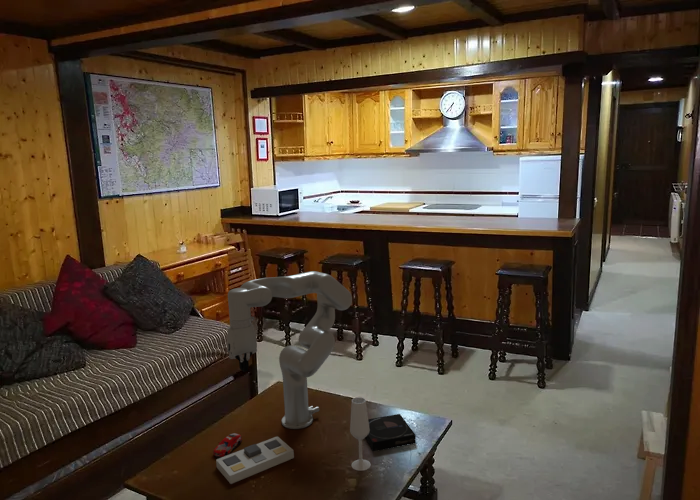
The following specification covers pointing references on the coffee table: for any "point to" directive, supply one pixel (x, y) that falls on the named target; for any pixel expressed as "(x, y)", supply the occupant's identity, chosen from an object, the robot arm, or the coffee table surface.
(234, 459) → the button
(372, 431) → the portable cd player
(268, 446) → the button
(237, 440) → the race car
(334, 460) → the coffee table surface
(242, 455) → the button board
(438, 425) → the coffee table surface
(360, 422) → the champagne flute
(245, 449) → the button mid
